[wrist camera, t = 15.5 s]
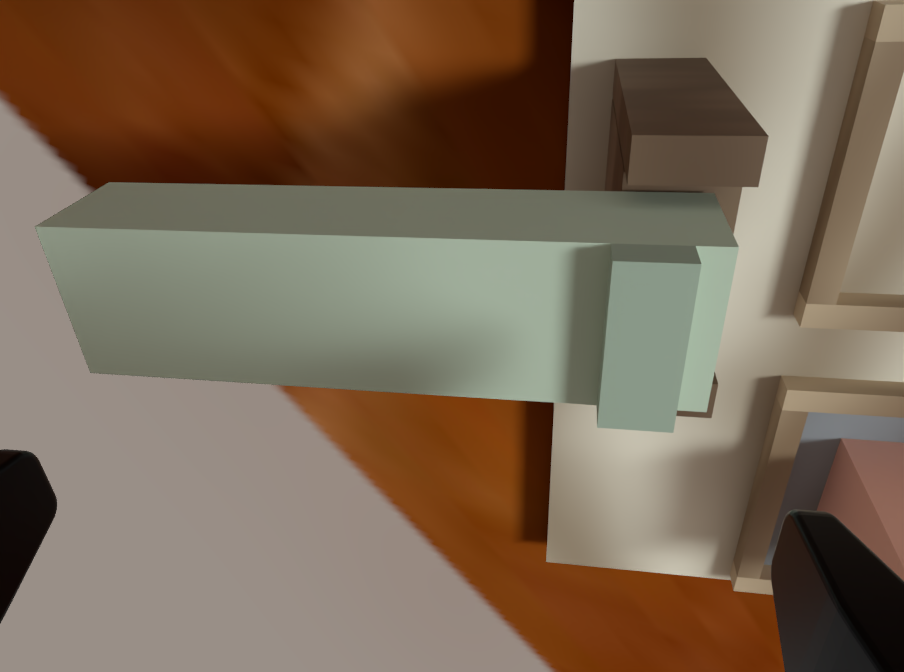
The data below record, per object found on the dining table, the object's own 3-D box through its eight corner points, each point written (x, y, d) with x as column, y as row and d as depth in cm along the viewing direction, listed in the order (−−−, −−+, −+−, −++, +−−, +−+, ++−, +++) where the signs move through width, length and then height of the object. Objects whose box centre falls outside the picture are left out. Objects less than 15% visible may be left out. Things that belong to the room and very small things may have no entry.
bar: (714, 193, 12) (747, 265, 9) (689, 341, 13) (712, 435, 11) (109, 182, 14) (10, 241, 11) (150, 315, 15) (71, 391, 13)
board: (1394, -86, 13) (2061, -74, 7) (1005, 583, 24) (1151, 817, 18) (576, -58, 16) (574, -31, 10) (547, 540, 26) (537, 733, 20)
